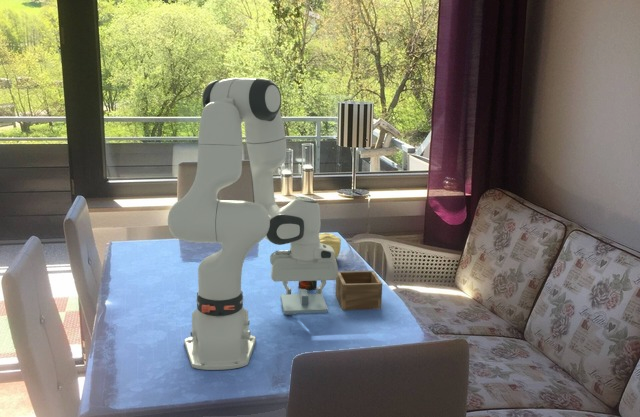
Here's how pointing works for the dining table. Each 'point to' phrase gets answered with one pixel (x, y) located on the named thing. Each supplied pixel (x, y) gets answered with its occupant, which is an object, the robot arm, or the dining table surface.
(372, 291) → the box
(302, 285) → the deodorant
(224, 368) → the robot arm
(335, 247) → the sculpture
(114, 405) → the dining table surface
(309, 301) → the lid
